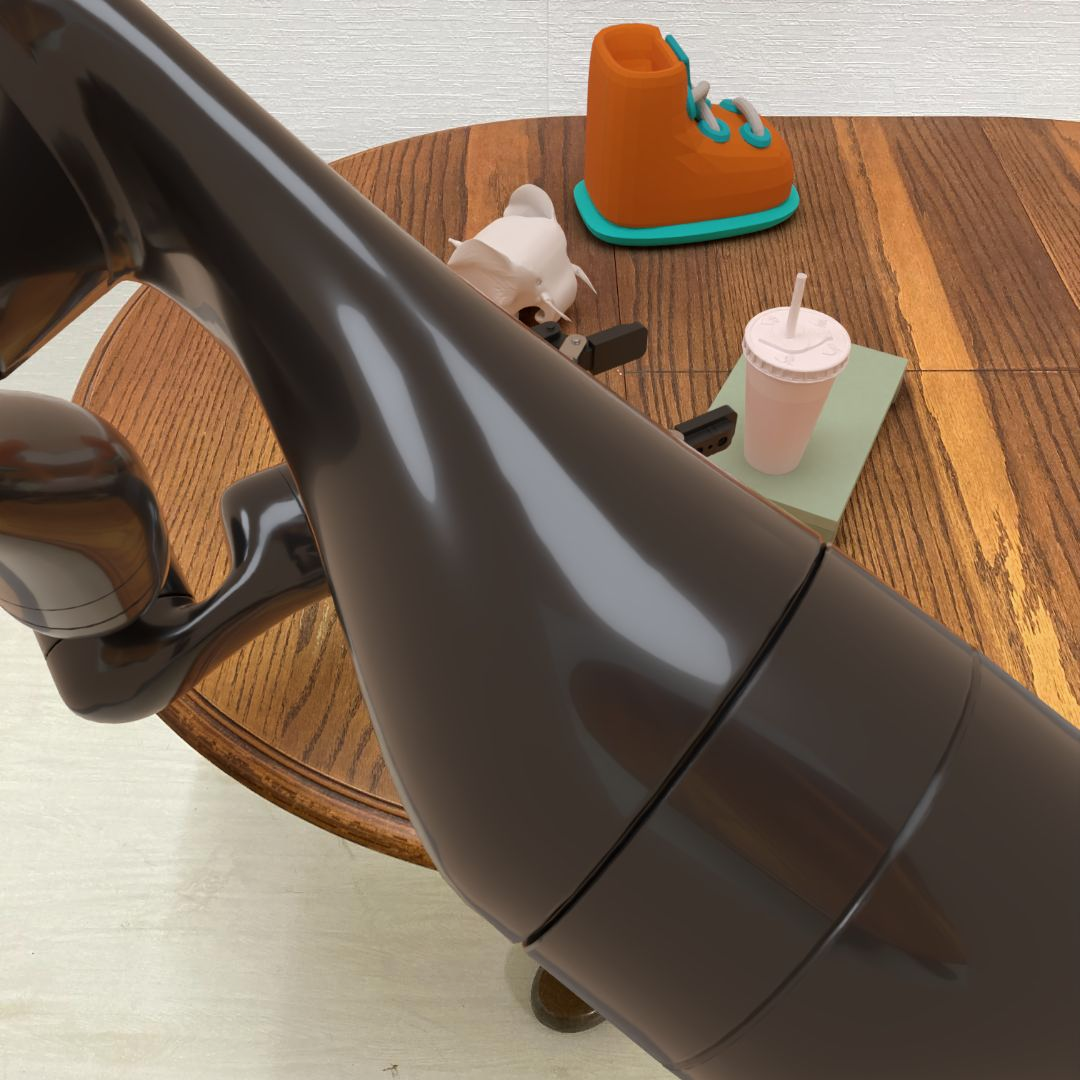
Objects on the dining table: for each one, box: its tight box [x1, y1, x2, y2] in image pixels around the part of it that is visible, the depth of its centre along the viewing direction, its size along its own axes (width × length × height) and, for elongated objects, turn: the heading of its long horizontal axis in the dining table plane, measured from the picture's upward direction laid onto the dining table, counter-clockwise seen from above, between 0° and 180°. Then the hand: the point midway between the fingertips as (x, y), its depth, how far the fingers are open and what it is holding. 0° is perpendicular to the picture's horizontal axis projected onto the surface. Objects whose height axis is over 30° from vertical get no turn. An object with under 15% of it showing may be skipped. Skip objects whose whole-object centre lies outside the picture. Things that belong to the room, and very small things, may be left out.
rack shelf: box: [706, 342, 910, 544], centre depth 77 cm, size 18×11×3 cm, turn 153°
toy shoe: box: [573, 22, 800, 247], centre depth 93 cm, size 12×20×15 cm, turn 103°
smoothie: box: [741, 272, 852, 475], centre depth 68 cm, size 6×6×14 cm
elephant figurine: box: [446, 183, 598, 324], centre depth 85 cm, size 10×12×9 cm
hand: (686, 377), depth 63 cm, fingers open, 8 cm apart
